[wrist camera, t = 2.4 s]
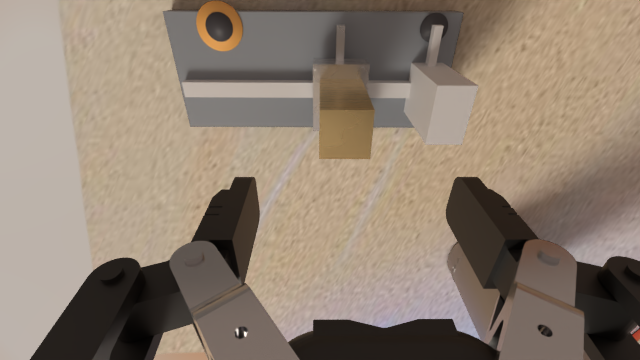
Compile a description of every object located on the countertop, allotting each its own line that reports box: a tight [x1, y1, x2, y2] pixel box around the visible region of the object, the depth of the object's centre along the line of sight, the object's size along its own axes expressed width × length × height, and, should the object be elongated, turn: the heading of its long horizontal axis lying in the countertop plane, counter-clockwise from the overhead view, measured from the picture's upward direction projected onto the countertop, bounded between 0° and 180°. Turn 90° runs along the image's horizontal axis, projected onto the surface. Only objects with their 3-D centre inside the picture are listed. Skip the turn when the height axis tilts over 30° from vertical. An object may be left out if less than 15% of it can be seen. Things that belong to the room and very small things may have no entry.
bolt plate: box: [163, 1, 478, 145], centre depth 23 cm, size 22×10×8 cm, turn 90°
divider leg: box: [313, 24, 375, 159], centre depth 21 cm, size 4×7×9 cm, turn 0°
